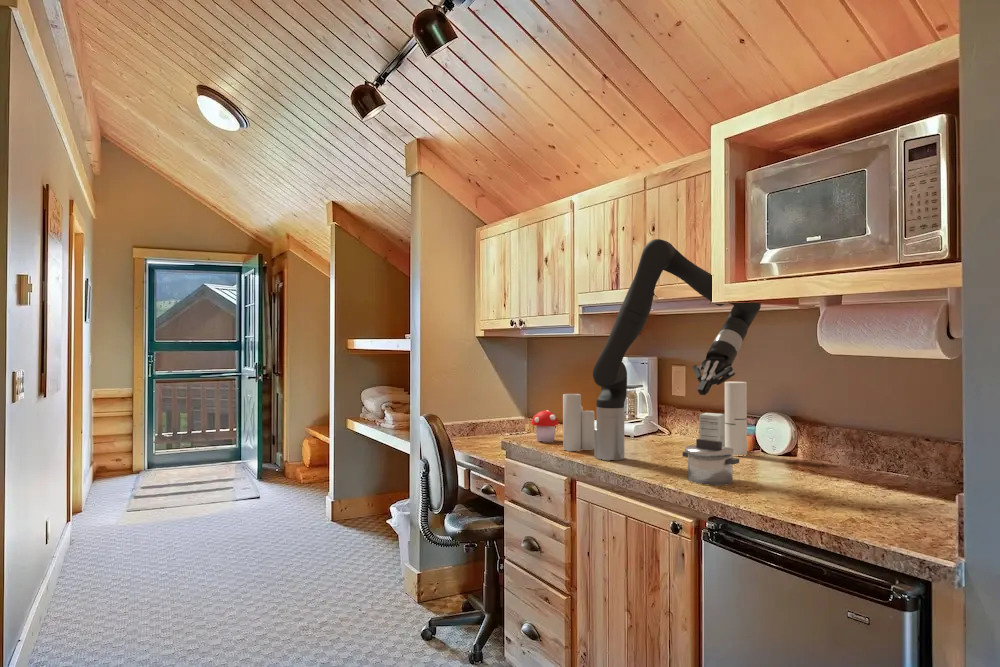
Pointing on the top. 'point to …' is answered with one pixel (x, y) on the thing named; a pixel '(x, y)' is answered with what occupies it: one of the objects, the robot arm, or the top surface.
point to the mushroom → (545, 425)
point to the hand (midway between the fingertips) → (701, 393)
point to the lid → (708, 448)
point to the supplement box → (712, 427)
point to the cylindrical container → (736, 417)
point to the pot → (710, 469)
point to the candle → (577, 424)
